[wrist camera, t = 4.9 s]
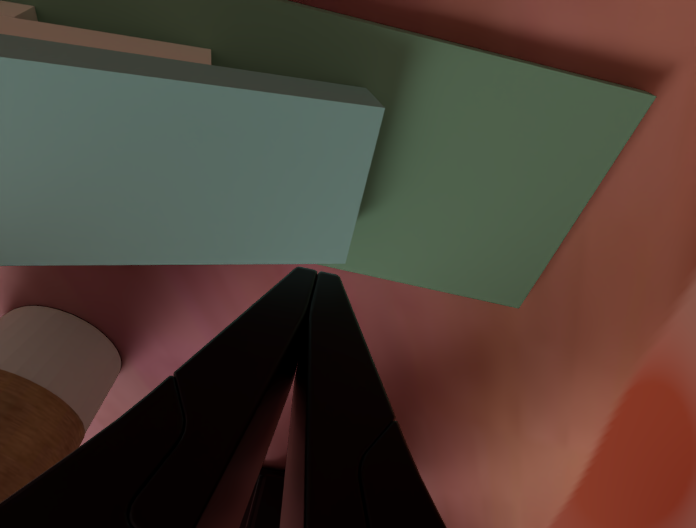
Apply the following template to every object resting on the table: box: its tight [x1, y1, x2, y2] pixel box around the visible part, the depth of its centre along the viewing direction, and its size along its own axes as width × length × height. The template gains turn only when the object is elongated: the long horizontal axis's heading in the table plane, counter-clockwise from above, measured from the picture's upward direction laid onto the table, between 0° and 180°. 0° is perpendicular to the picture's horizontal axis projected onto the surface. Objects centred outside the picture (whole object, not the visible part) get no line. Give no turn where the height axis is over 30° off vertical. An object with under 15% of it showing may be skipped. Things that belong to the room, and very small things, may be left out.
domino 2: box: [0, 34, 385, 266], centre depth 10 cm, size 5×2×10 cm
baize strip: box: [1, 0, 656, 308], centre depth 13 cm, size 8×26×1 cm, turn 78°
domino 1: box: [0, 16, 211, 65], centre depth 10 cm, size 5×2×10 cm
